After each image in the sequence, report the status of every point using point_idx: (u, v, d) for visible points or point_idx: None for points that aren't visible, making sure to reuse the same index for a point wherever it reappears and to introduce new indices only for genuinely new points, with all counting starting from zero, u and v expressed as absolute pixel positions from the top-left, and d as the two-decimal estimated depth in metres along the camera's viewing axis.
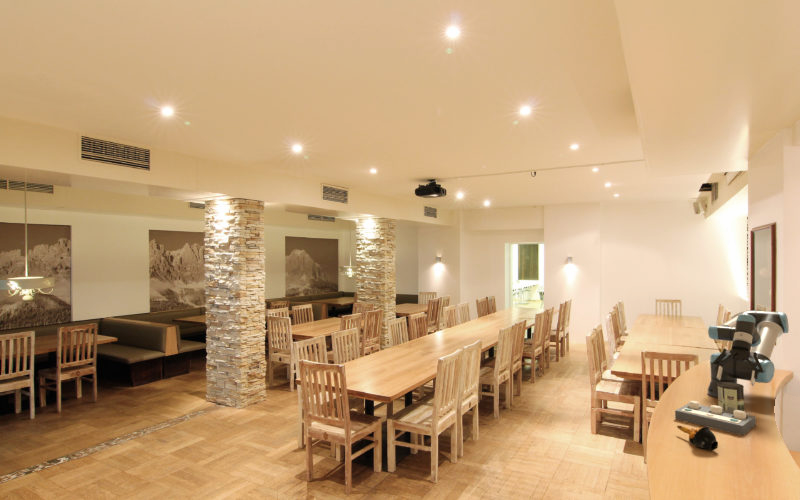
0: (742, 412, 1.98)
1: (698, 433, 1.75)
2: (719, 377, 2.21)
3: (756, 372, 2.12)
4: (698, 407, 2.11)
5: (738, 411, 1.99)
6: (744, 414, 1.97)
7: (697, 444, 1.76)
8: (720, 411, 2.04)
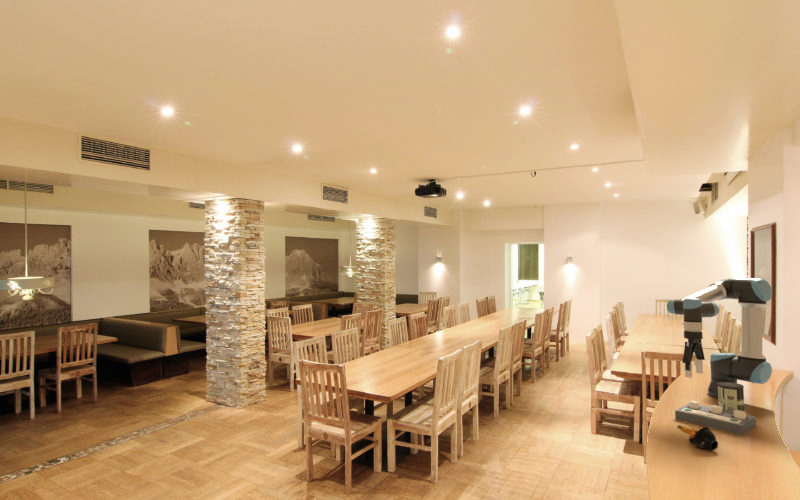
0: (742, 412, 1.98)
1: (698, 433, 1.75)
2: (698, 371, 2.18)
3: None
4: (698, 407, 2.11)
5: (738, 411, 1.99)
6: (744, 414, 1.97)
7: (697, 444, 1.76)
8: (720, 411, 2.04)
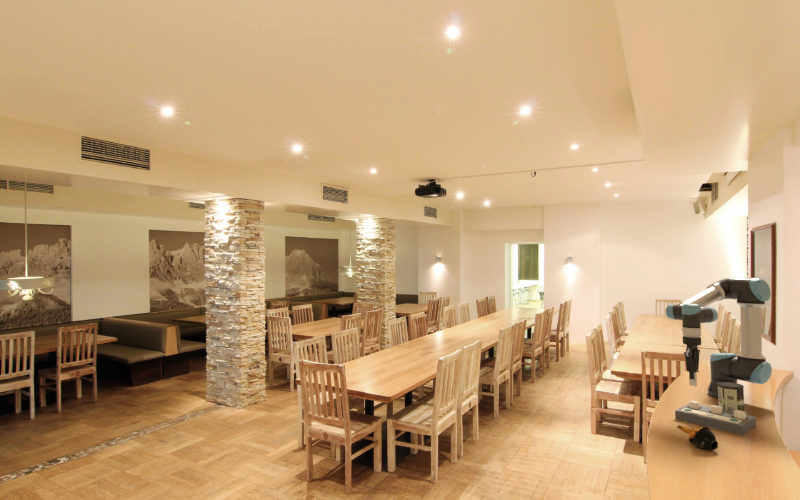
0: (742, 412, 1.98)
1: (698, 433, 1.75)
2: None
3: None
4: (698, 407, 2.11)
5: (738, 411, 1.99)
6: (744, 414, 1.97)
7: (697, 444, 1.76)
8: (720, 411, 2.04)
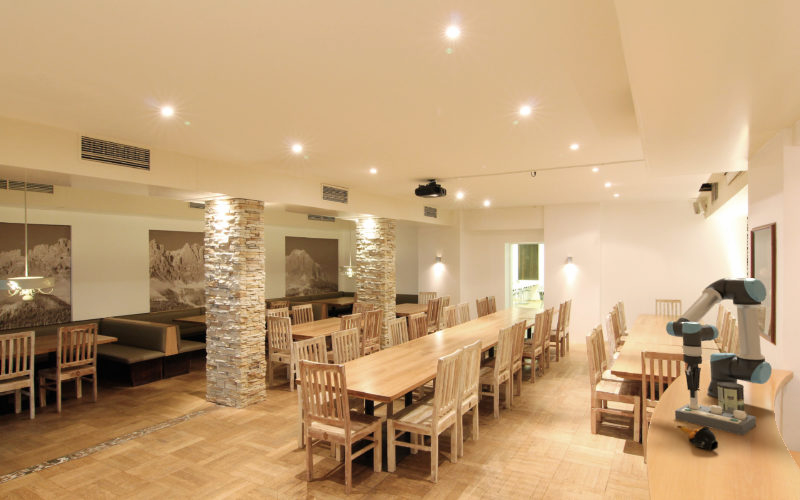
0: (742, 412, 1.98)
1: (698, 433, 1.75)
2: None
3: None
4: (698, 409, 2.11)
5: (738, 411, 1.99)
6: (744, 414, 1.97)
7: (697, 444, 1.76)
8: (720, 411, 2.04)
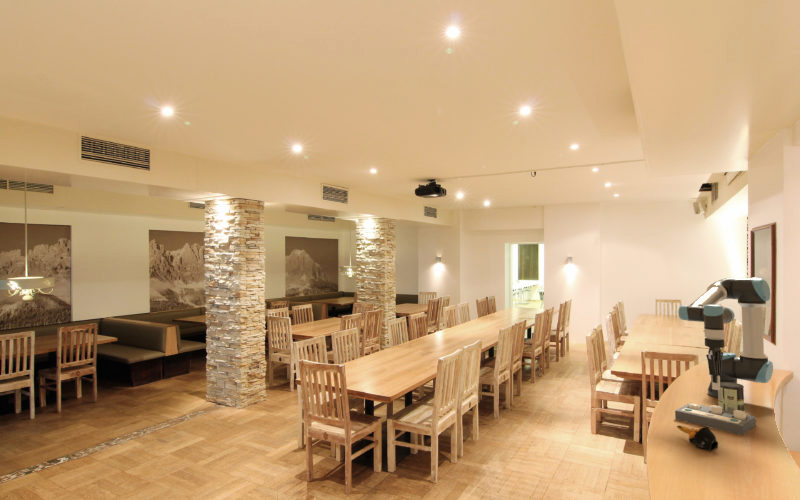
0: (742, 412, 1.98)
1: (698, 433, 1.75)
2: None
3: None
4: None
5: (738, 411, 1.99)
6: (744, 414, 1.97)
7: (697, 444, 1.76)
8: (720, 411, 2.04)
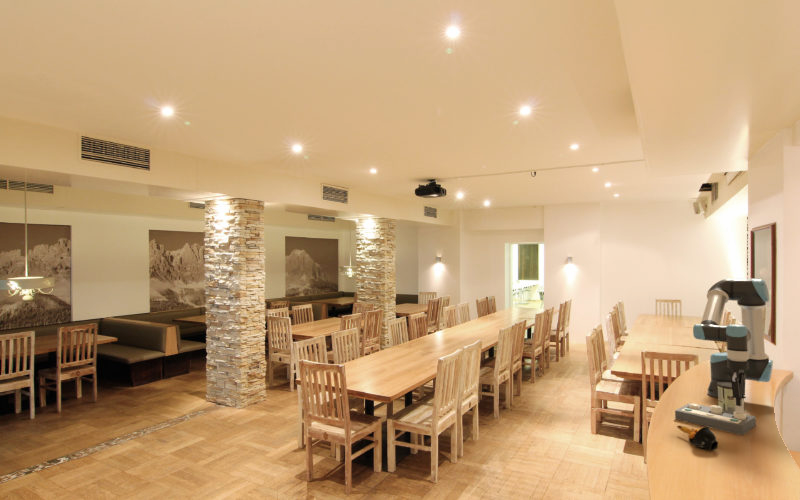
0: None
1: (698, 433, 1.75)
2: None
3: None
4: None
5: None
6: (744, 415, 1.97)
7: (697, 444, 1.76)
8: (720, 411, 2.04)
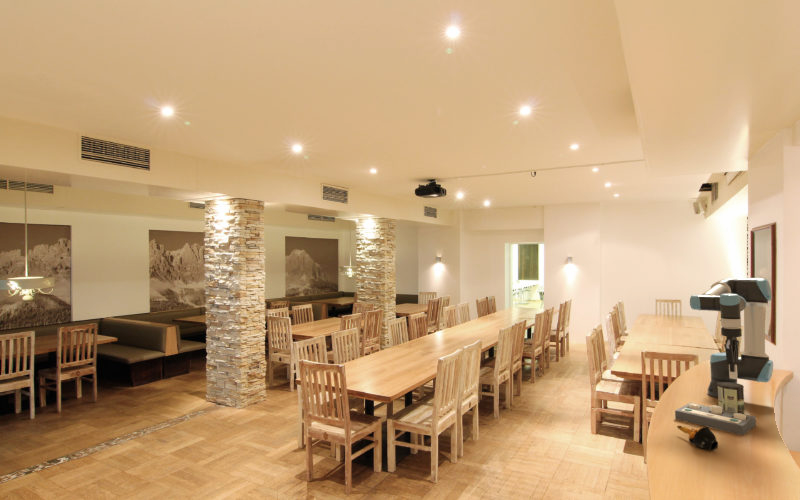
0: (742, 415, 1.98)
1: (698, 433, 1.75)
2: None
3: None
4: None
5: (738, 414, 1.99)
6: (744, 417, 1.97)
7: (697, 444, 1.76)
8: (720, 411, 2.04)
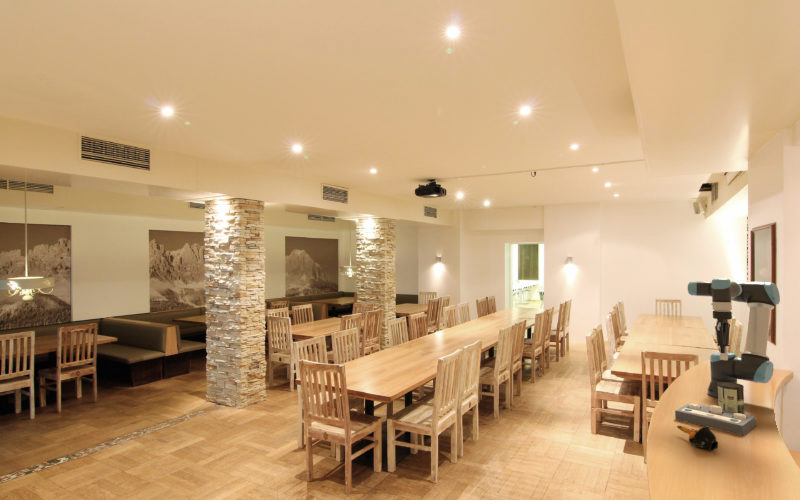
0: (742, 415, 1.98)
1: (698, 433, 1.75)
2: None
3: None
4: None
5: (738, 414, 1.99)
6: (744, 417, 1.97)
7: (697, 444, 1.76)
8: (720, 411, 2.04)
